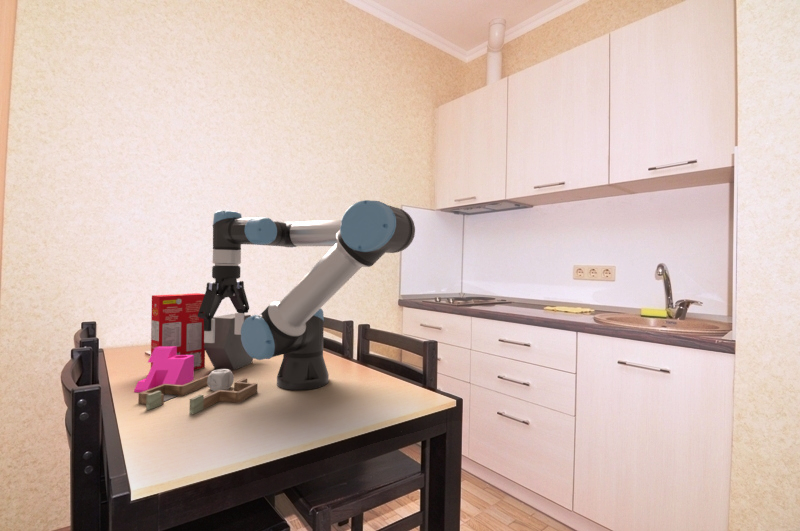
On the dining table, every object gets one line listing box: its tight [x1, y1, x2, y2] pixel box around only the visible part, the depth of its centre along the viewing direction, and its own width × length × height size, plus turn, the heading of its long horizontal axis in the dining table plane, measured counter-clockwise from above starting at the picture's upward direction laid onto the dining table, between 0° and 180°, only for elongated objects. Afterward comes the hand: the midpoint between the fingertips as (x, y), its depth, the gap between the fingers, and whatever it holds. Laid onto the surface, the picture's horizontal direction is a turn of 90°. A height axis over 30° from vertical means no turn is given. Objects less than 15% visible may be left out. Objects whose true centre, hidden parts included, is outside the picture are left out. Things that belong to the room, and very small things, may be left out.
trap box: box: [137, 374, 258, 415], centre depth 107 cm, size 24×22×4 cm
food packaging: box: [150, 292, 206, 371], centre depth 133 cm, size 15×5×25 cm, turn 145°
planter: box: [204, 313, 254, 371], centre depth 140 cm, size 17×8×21 cm
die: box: [207, 369, 235, 392], centre depth 115 cm, size 5×5×5 cm
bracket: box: [133, 346, 195, 393], centre depth 117 cm, size 12×10×10 cm
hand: (225, 338), depth 117 cm, fingers open, 13 cm apart
